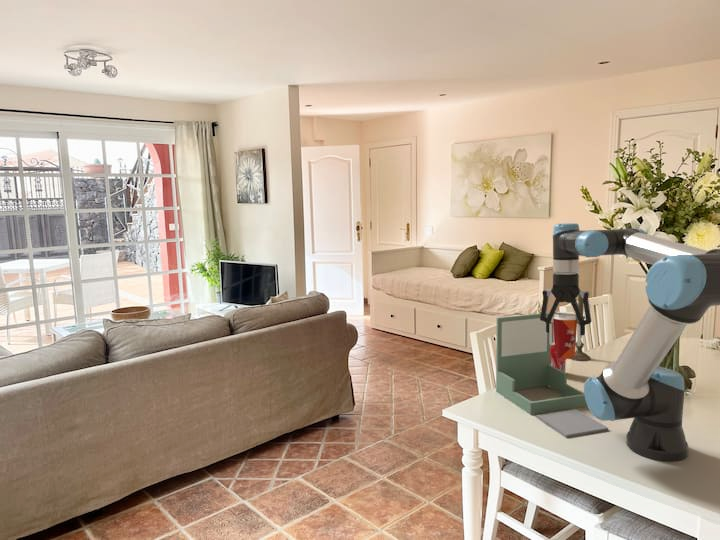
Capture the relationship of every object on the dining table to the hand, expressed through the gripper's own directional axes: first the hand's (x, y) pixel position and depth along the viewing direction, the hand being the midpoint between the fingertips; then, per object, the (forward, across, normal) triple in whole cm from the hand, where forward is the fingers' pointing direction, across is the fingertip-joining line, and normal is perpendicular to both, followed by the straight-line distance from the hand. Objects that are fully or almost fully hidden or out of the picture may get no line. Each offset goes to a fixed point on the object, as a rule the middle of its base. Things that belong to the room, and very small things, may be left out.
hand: (565, 343), depth 164 cm
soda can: (+24, +10, -42) cm, 50 cm away
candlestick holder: (+23, +4, -68) cm, 72 cm away
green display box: (+24, +10, -14) cm, 29 cm away
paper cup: (+4, 0, 0) cm, 4 cm away
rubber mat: (+25, -2, +3) cm, 25 cm away
